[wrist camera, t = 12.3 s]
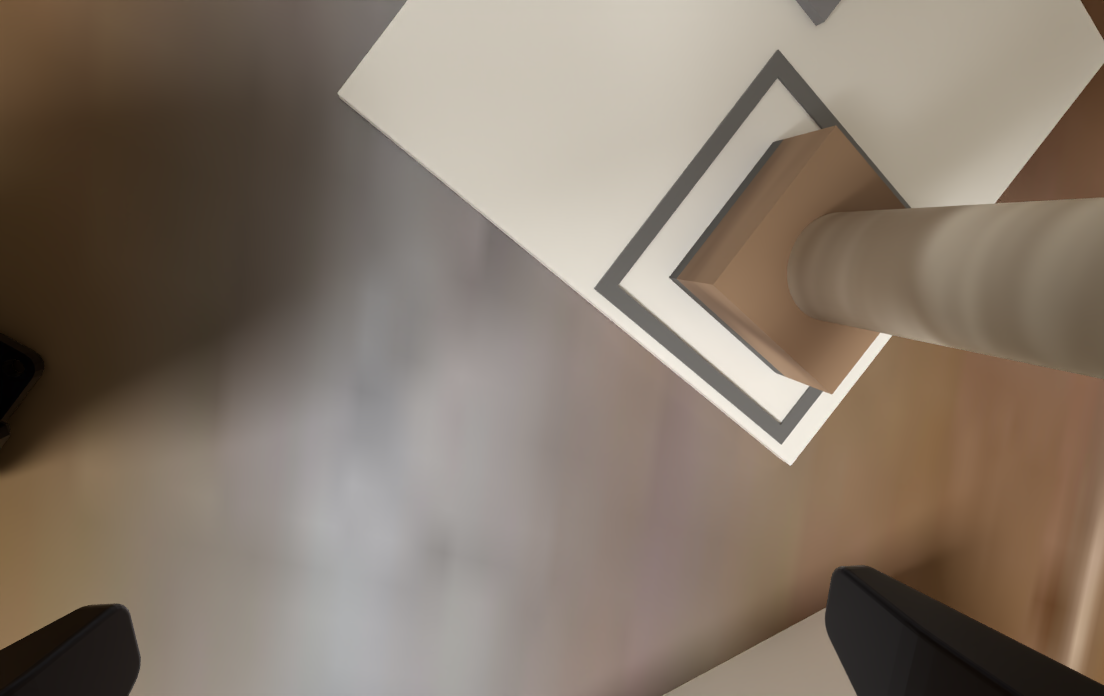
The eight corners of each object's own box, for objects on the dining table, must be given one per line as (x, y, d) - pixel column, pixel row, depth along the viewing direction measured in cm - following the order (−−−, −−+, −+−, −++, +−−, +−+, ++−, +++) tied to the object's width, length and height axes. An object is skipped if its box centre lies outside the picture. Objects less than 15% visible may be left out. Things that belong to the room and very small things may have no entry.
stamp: (668, 277, 19) (1046, 339, 8) (772, 141, 19) (1311, -1, 8) (775, 373, 21) (1207, 538, 9) (870, 249, 21) (1422, 267, 9)
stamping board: (340, 98, 16) (334, 87, 15) (773, -475, 16) (801, -531, 15) (781, 459, 22) (800, 471, 21) (1093, 58, 22) (1130, 48, 21)
